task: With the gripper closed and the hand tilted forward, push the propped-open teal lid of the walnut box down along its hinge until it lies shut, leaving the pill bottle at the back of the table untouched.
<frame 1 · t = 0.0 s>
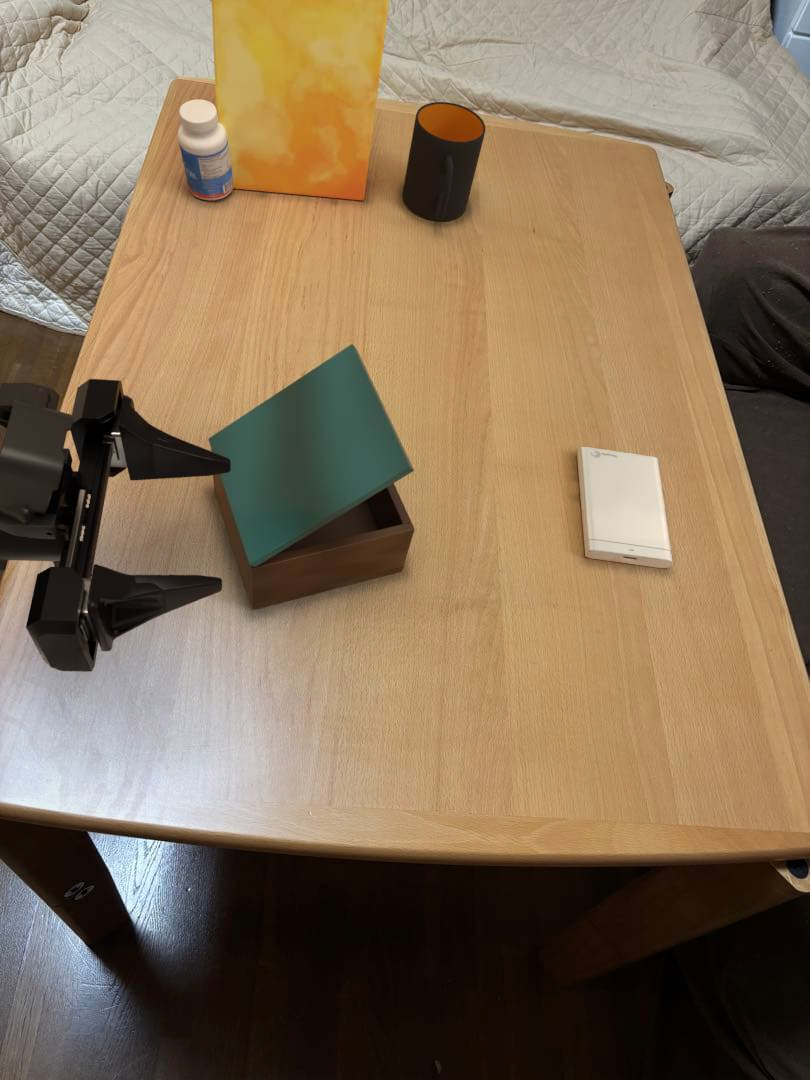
hand: (226, 522, 51), 16 cm above the table, tool horizontal, fingers open, 9 cm apart
lid: (304, 453, 62), point 11 cm above the table, hinge at 35.0°
hard drive: (619, 511, 79), on the table
box: (307, 531, 71), on the table
mug: (434, 211, 100), on the table
pill bottle: (211, 188, 95), on the table, touching mottled yellow carton
mottled yellow carton: (292, 166, 100), on the table, touching pill bottle
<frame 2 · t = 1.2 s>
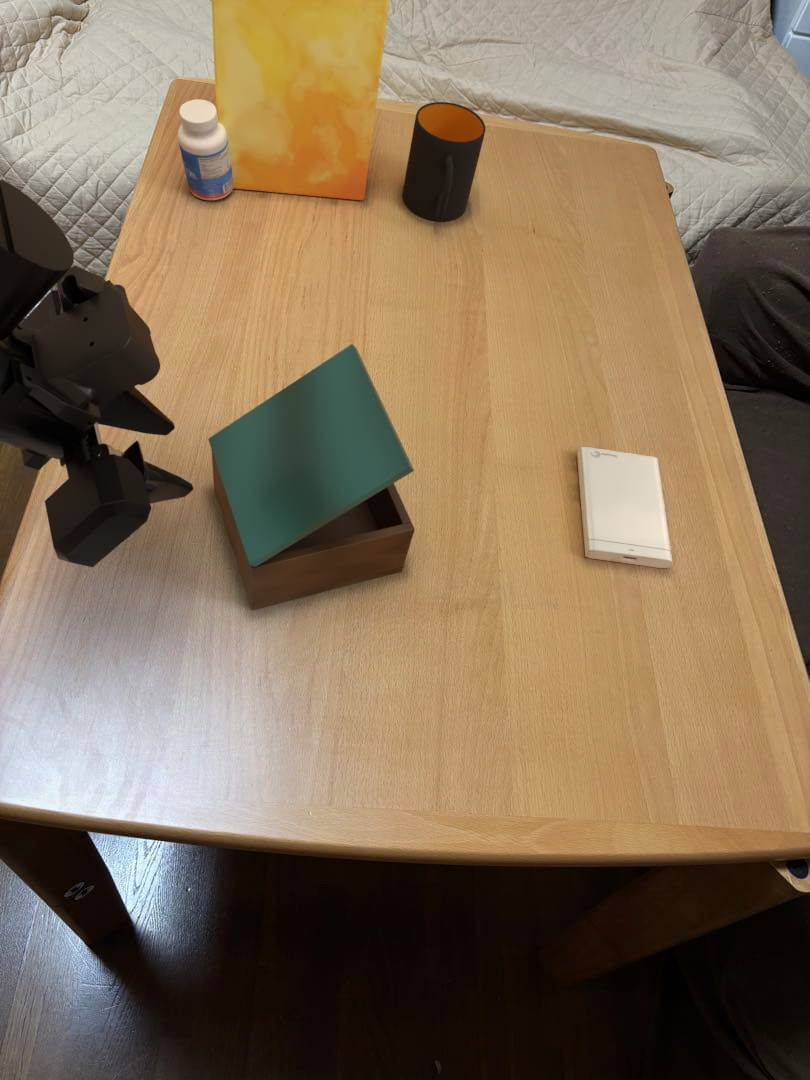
hand: (179, 459, 57), 14 cm above the table, tool tilted 45°, fingers open, 5 cm apart
nothing on the table moved.
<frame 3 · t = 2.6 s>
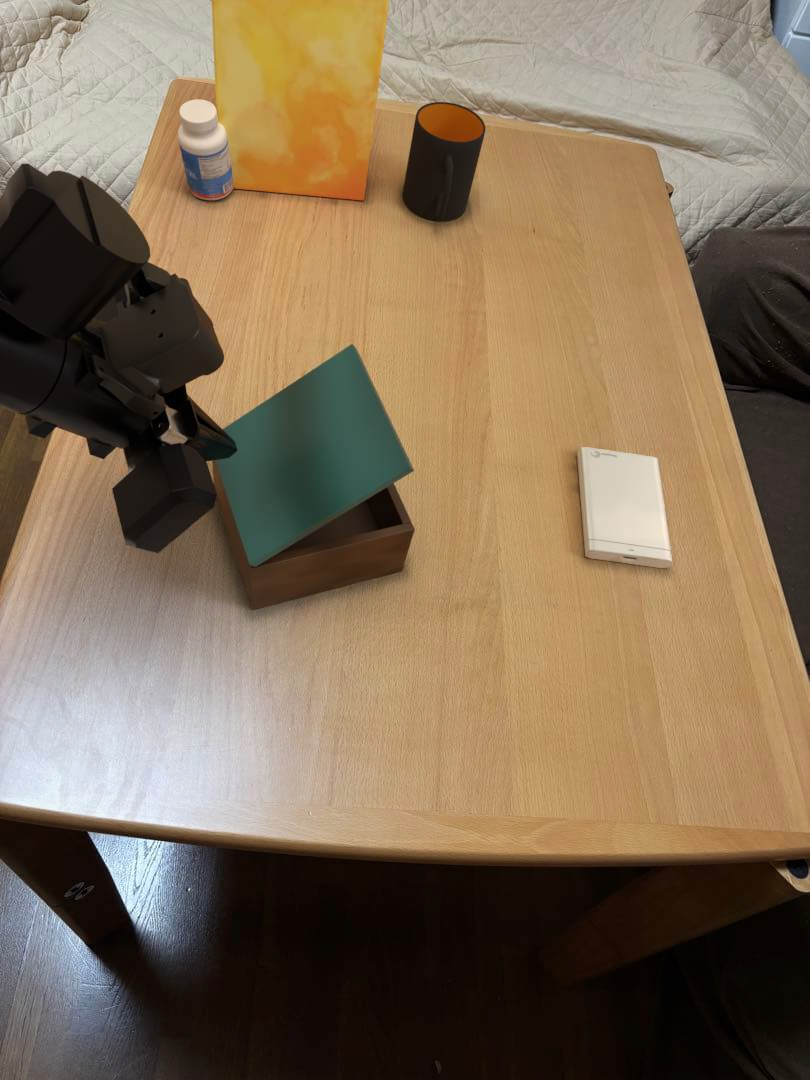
hand: (232, 450, 58), 14 cm above the table, tool tilted 45°, fingers closed
nothing on the table moved.
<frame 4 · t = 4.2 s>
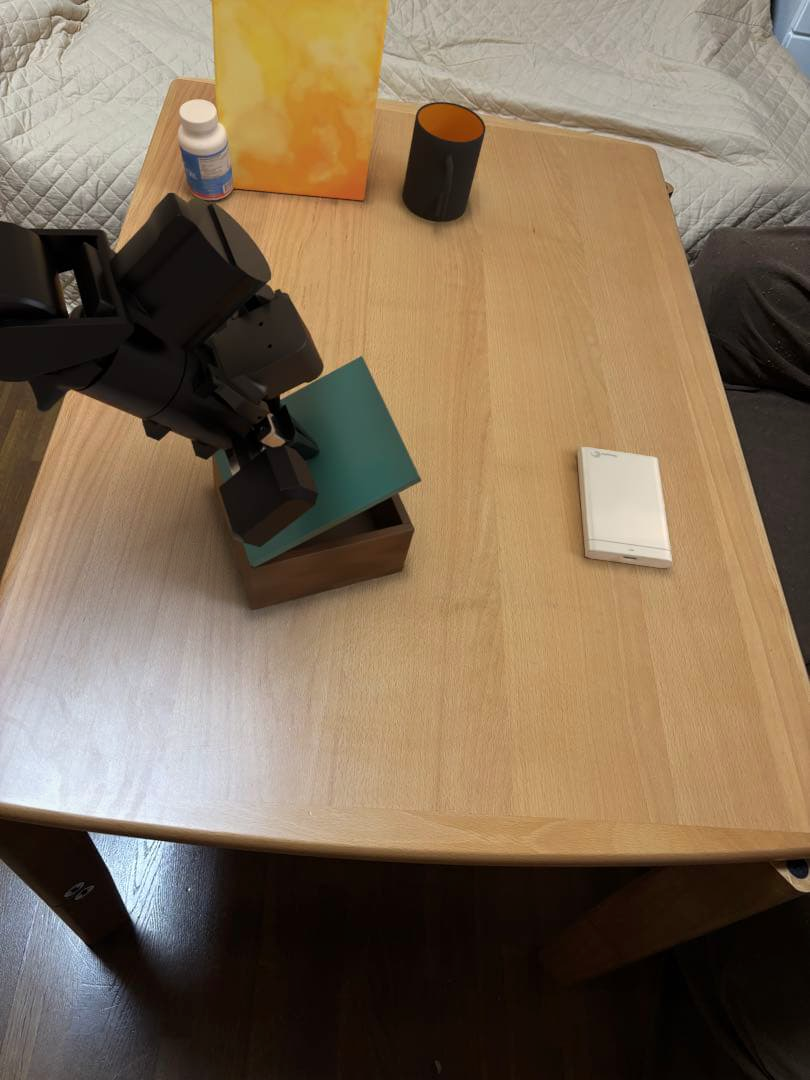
hand: (314, 451, 62), 11 cm above the table, tool tilted 45°, fingers closed, pressing on lid
lid: (309, 458, 62), point 11 cm above the table, hinge at 27.8°, touching gripper
everything else where it was.
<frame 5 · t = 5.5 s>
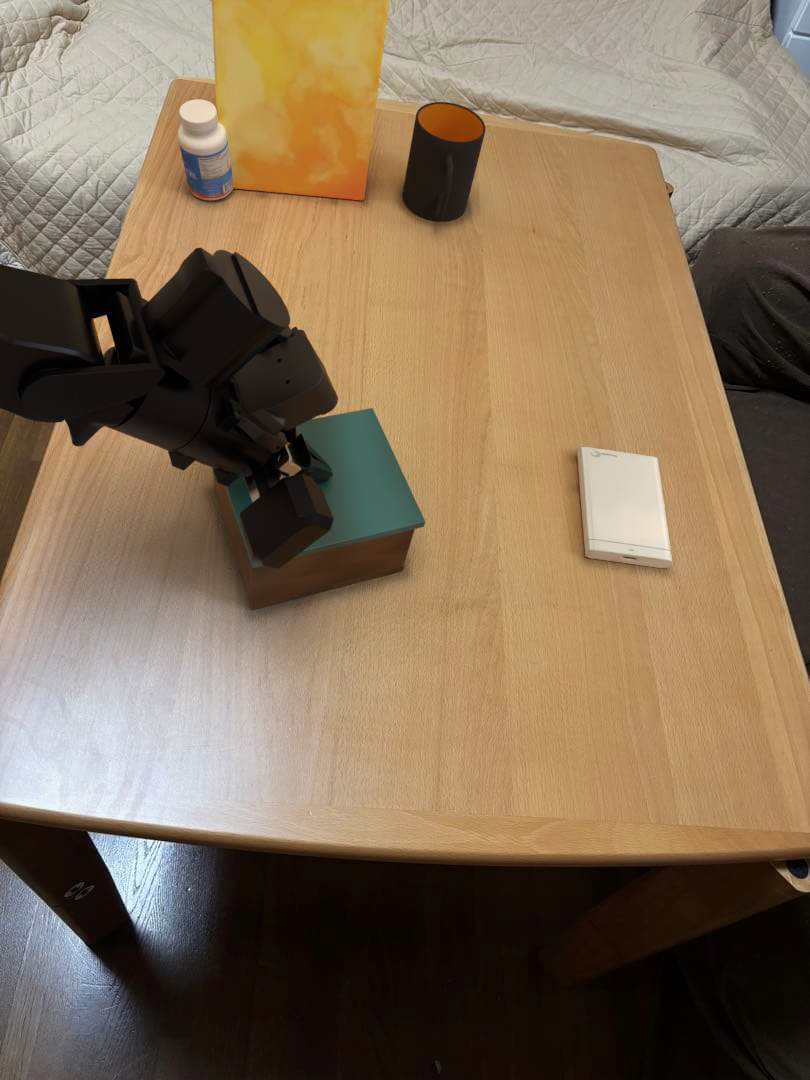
hand: (327, 474, 65), 8 cm above the table, tool tilted 45°, fingers closed, pressing on lid
lid: (316, 482, 65), point 7 cm above the table, hinge at -0.2°, touching box, gripper
everything else where it was.
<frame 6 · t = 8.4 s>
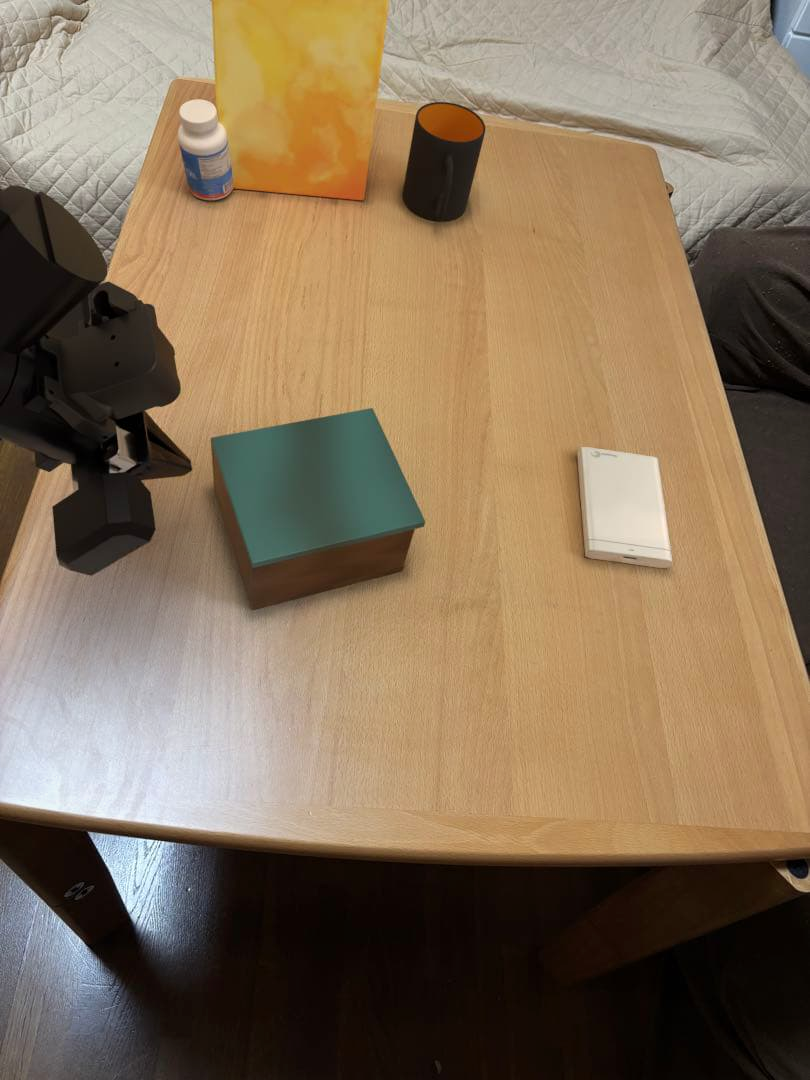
hand: (187, 468, 58), 13 cm above the table, tool tilted 40°, fingers closed
lid: (316, 482, 65), point 7 cm above the table, hinge at -0.2°, touching box
everything else where it was.
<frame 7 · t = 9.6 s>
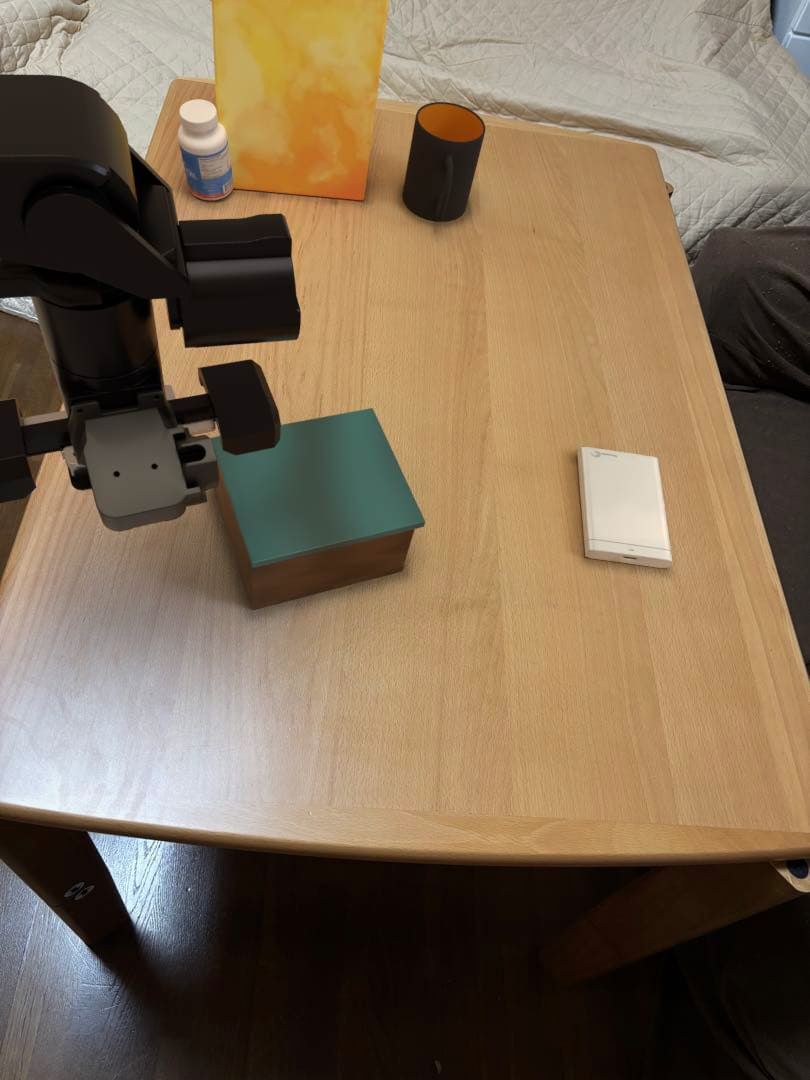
hand: (139, 504, 56), 12 cm above the table, tool pointing down, fingers closed
nothing on the table moved.
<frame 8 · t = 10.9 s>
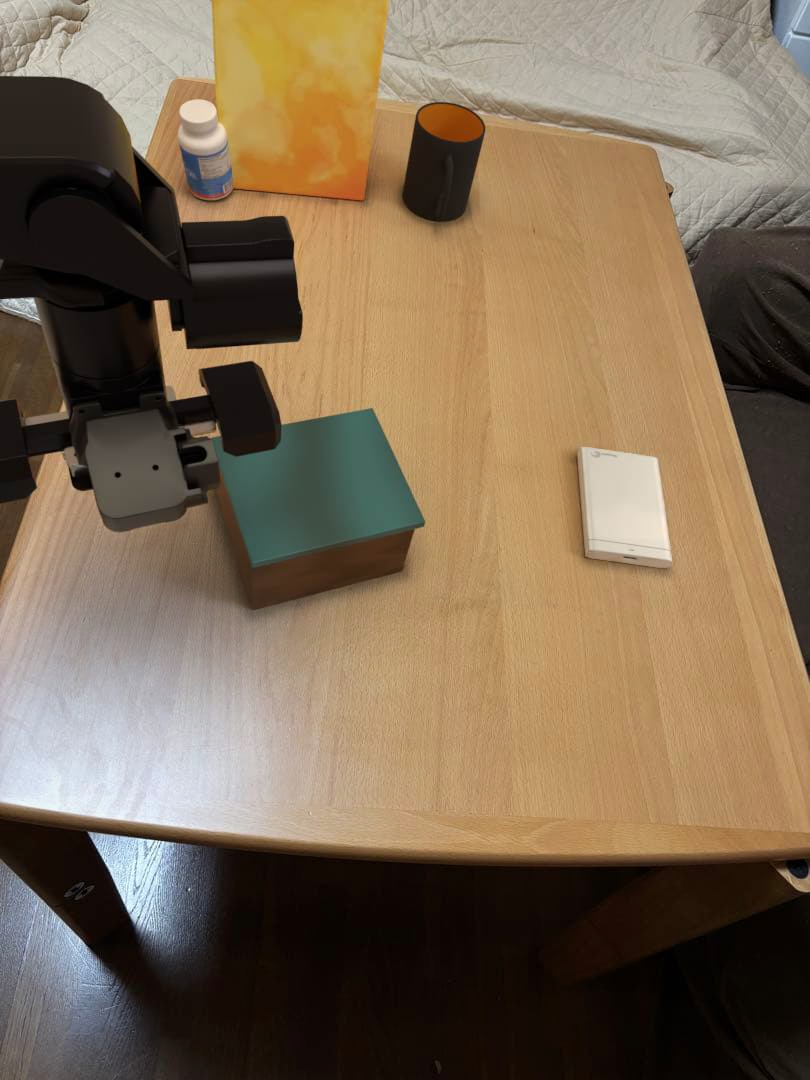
hand: (139, 505, 56), 12 cm above the table, tool pointing down, fingers closed
nothing on the table moved.
at the end: lid at +0° (first picture: +35°); pill bottle moved 0.9 cm from its start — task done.
